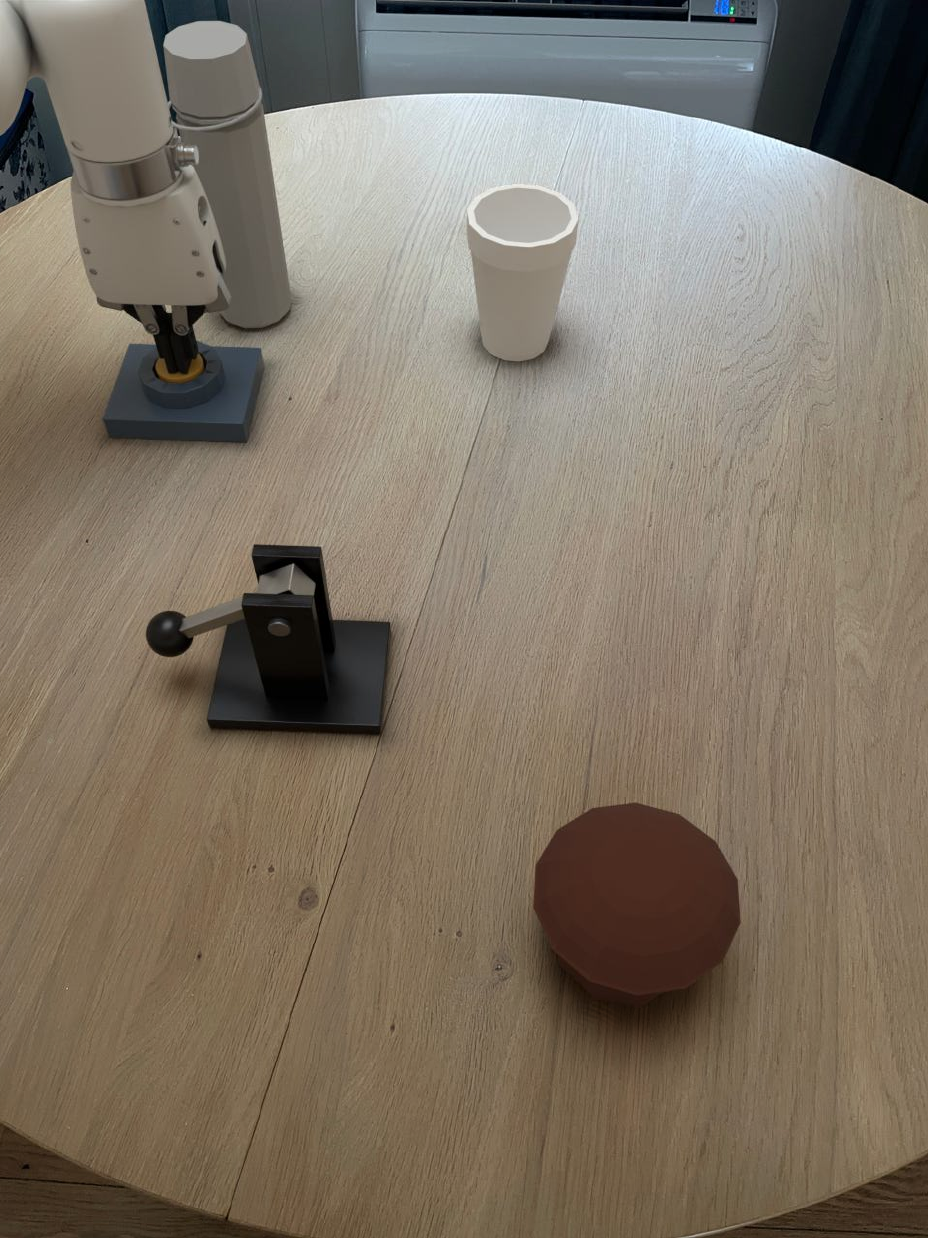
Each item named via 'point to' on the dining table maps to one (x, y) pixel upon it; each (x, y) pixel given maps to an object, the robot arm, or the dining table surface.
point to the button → (177, 377)
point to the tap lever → (219, 613)
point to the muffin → (635, 902)
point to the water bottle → (231, 162)
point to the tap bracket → (299, 659)
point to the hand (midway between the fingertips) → (181, 362)
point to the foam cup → (519, 265)
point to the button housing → (186, 397)
